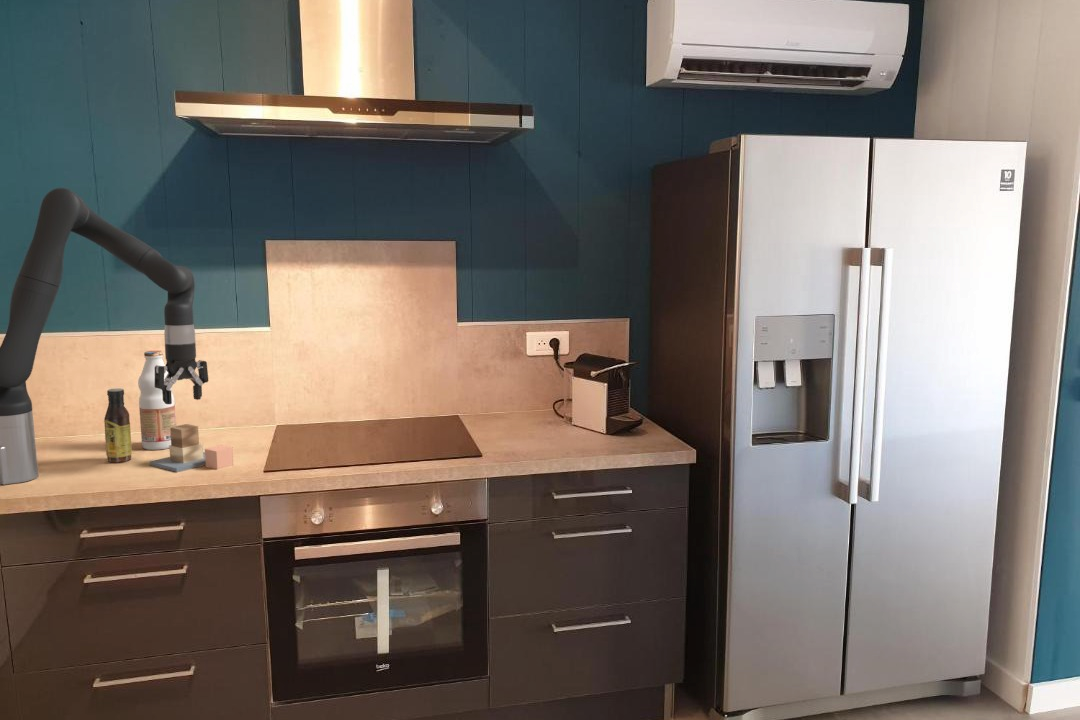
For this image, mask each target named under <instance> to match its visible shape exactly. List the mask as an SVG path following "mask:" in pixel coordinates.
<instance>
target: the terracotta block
mask: <svg viewBox="0 0 1080 720" xmlns="http://www.w3.org/2000/svg"><path fill="white" fill-rule="evenodd" d="M204 452H205V462H206V465H205V467H207V468H209V469H213V470H217V471H218V470H222V469H226V468H228V467H233V466H234V449H233V447H231V446H227V445H223V444H219V445H215V446H210V447H207V448H206V447H205V448H204Z"/></svg>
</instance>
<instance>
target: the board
mask: <svg viewBox="0 0 1080 720" xmlns="http://www.w3.org/2000/svg"><path fill="white" fill-rule="evenodd" d="M149 465H150V466H152V467H155V468H159V469H163V470H168V471H170V472H171V471H172V472H173V473H174V472H175V473H179V472H183V471H187V470H191V469H195V468H198V467H202V466H206V462H205V451H203V458H202V459H198V460H194V461H190V462H187V463H181V462H177V461H173V460H170V456H167V457H163V458H159V459H155V460H151V461H149Z"/></svg>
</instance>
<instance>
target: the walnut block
mask: <svg viewBox="0 0 1080 720" xmlns="http://www.w3.org/2000/svg"><path fill="white" fill-rule="evenodd" d="M170 433H171V446H175V447H180V448H185V447H190V446H194V445H198V444H199V443H200V437H199V436H200V435H199V425H194V424H190V423H189V424H188V423H186V424H180V425H176V426H175V427H170Z"/></svg>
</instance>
